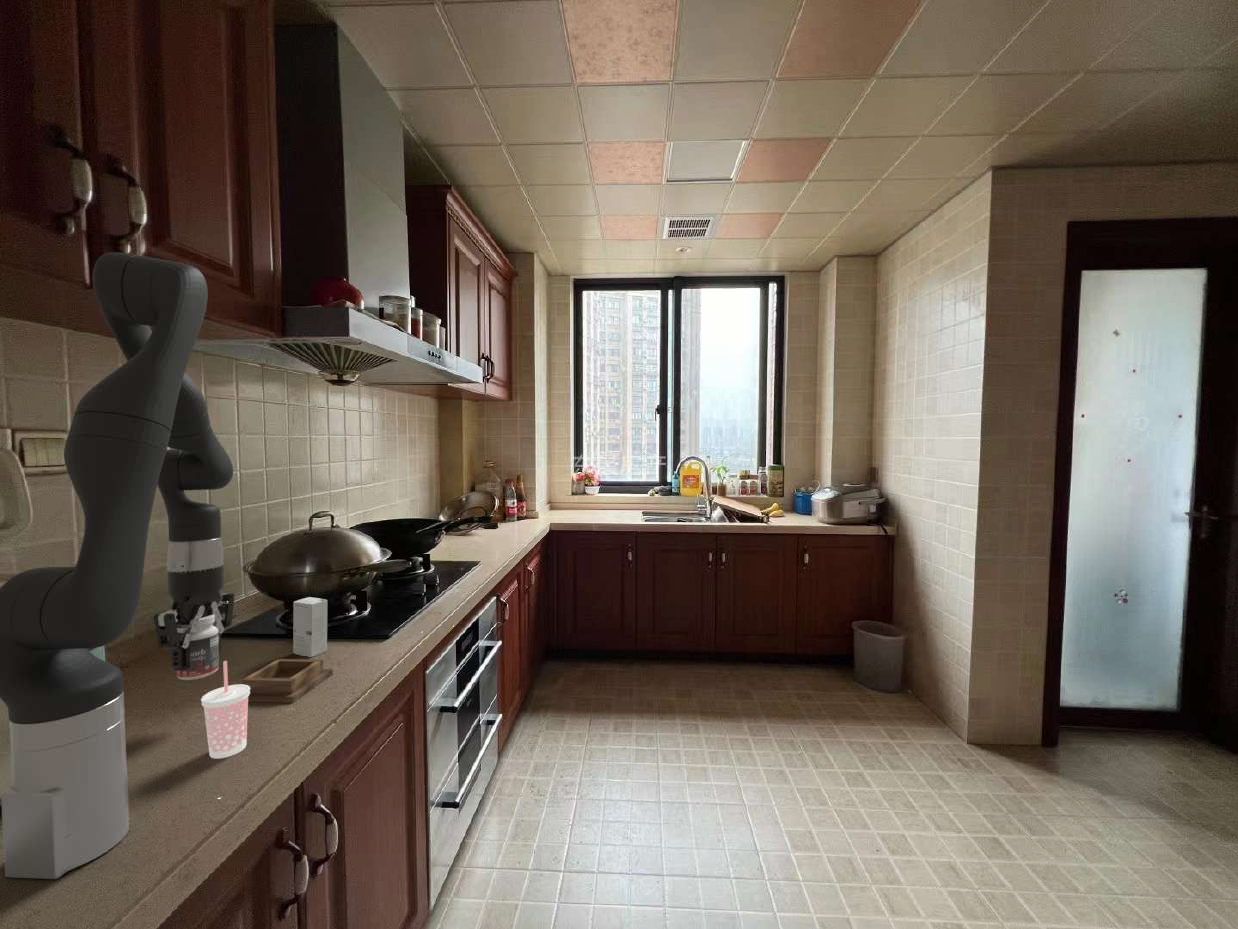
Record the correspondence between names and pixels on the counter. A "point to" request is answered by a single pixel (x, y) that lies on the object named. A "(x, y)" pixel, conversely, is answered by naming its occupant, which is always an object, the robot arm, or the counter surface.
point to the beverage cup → (226, 718)
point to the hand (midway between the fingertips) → (198, 662)
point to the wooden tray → (285, 680)
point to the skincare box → (310, 626)
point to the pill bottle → (202, 650)
